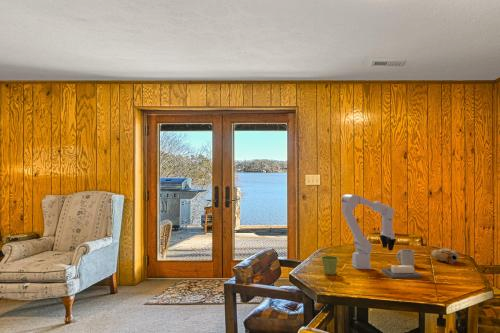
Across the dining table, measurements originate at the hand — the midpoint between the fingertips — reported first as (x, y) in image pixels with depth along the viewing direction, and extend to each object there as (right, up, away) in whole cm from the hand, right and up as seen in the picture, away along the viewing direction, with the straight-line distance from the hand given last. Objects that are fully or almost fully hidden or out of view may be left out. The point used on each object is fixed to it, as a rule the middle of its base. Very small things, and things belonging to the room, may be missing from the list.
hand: (387, 248), depth 203 cm
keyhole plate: (0, -10, -18) cm, 21 cm away
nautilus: (+38, -10, +6) cm, 40 cm away
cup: (+11, -10, +1) cm, 15 cm away
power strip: (0, -9, -20) cm, 22 cm away
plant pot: (-38, -10, -16) cm, 43 cm away
